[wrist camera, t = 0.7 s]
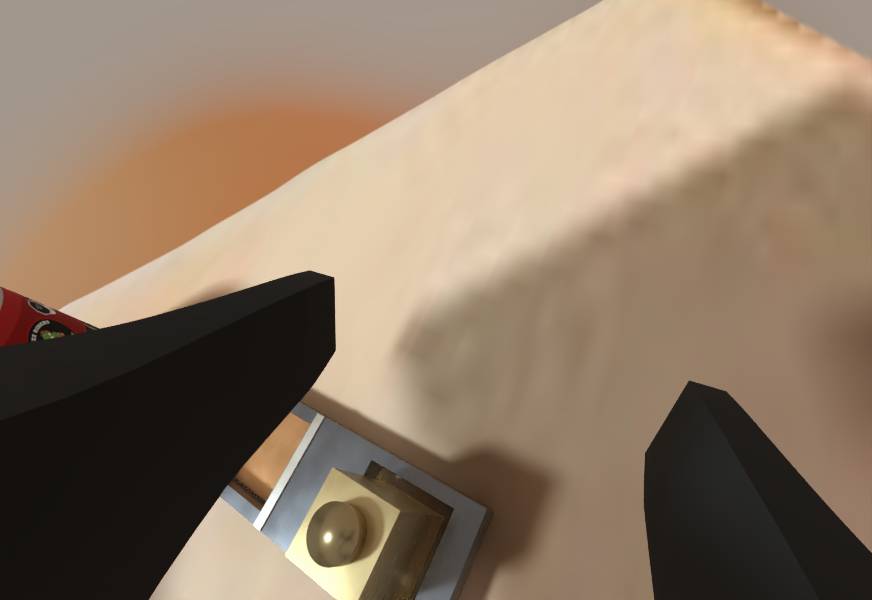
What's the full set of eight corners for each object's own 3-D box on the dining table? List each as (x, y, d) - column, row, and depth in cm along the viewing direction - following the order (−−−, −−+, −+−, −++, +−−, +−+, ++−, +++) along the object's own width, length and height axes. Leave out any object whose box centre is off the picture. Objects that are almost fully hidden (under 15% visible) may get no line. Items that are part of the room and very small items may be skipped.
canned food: (126, 413, 34) (-44, 368, 25) (54, 432, 36) (-128, 396, 27) (150, 331, 38) (10, 266, 29) (84, 351, 40) (-66, 296, 31)
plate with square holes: (433, 659, 20) (421, 667, 18) (205, 471, 29) (186, 468, 28) (493, 511, 22) (486, 509, 20) (263, 380, 31) (248, 373, 30)
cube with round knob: (410, 596, 21) (341, 615, 16) (352, 552, 23) (272, 555, 18) (444, 517, 22) (392, 509, 17) (387, 482, 24) (322, 464, 19)
